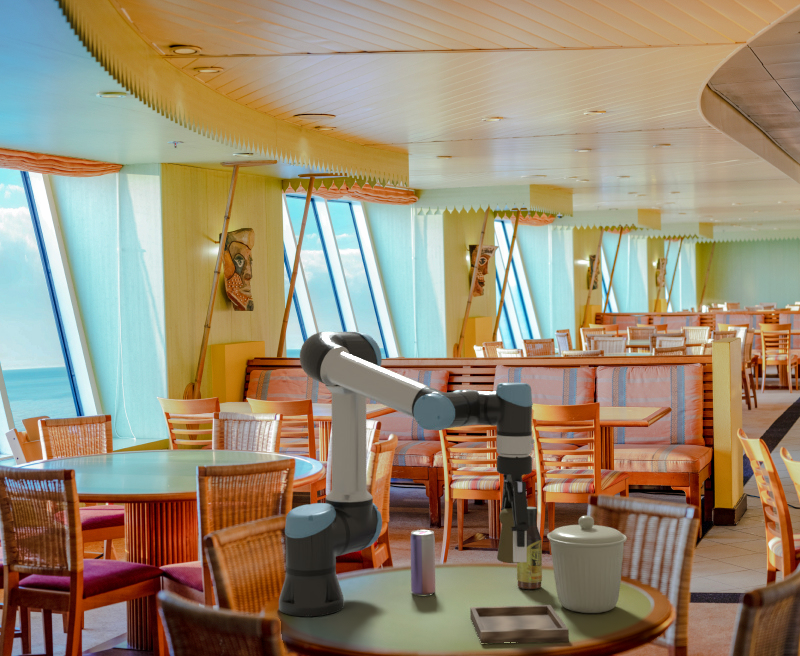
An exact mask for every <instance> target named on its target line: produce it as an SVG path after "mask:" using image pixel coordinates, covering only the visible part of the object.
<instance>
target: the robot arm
mask: <svg viewBox="0 0 800 656" xmlns="http://www.w3.org/2000/svg"><path fill="white" fill-rule="evenodd" d="M382 357H383V356H382V351H381V349H380V345H379V344H378V343H377V342H376V340H375V339H374V338H373V337H372V336H370V335H369V334H368V333H365V332H359V331H320V332H316V333H313V334H311V335H310V336H309V337H307V338H306V340H305V341H304V342H303V344H302V346H301V347H300V350H299V362H300V366H301V368H302V370H303V372H305V374H306V375H308V377H309V378H311V379H313V380H315V381H317V382H319V383H321V384H323V385H325V388H326V389H327V390H328V391H329V392H330V393H331V490H330V492H329V493H328V494H326V496H325V503H324V502H315V503H311V504H308V503H307V504H303V505H299V506H297V507H294V508H292V509H290V511H288V513H287V514H286V516H285V526H284V527H285V528H284V535H285V541H284V542H285V568H286V569H285V578H284V581H283V585H282V587H281V588H282V589H281V592H280V595H279V599H278V610H279V612H280V613H283V614H285V615H289V616H294V617H317V616H318V617H319V616H325V615H331V614H334V613H337V612H339V611H341V610H342V609H344V606H345V605H344V604H345V603H344V602H345V601H344V600H345V599H344V594H343V591H342V588H341V585H340V582H339V579H338V575H337V572H336V571H337V570H336V568H337V567H336V565H337V564H336V563H337V559H336V557H339V556H343V555H346V554H349V553H354V552H356V553H357V552H360V551H363V550H365V549H366V548H369V547H371V546H372V545H374V544H375V543H376V542H377V540H378V539H379V537H380V535H381V532H382V528H383V518H382V514H381V511H379V510H378V509H379V508H378V506H377V505H376V504H375V503H374V501H373V499H374V498H373V495H372V494H371V493H370V491H368V490H367V488H368V487H367V485H368V484H367V483H368V482H367V399H369V400H371V401H374V402H376V403H378V404H381V405H383V406H386V407H387V408H391V409H392V410H395V411H397V412H399V413H401V414H404V415H405V416H409V417H410V418H413V419H415V421H416V423H417V424H418V426H419V427H420V428H421V429H424V430H426V431H427V430H429V431H442V430H443V431H444V430H445V429H452V428H458V427H466V426H467V427H468V426H475V425H478V426H491V427H492V426H493V427H494V426H495V427H496V453H497V454H499V455H497V456H496V472H497V473H498V474H500V475H502V476H503V486H502V487H503V488H502V496H501V497H502V498H501V508H500V510H501V511H502V510H503V509H507V508H512V513H513V521H514V527H511V531H513V562H527V530H528V529H529V525H528V512H527V507H528V502H527V483H526V481H523V476H525V475H526V476H527V475H530V474H532V472H533V457H532V456H531V454H532V451H533V449H532V447H533V446H532V445H533V444H534V443H535V439H534V438H533V437H532V435H533V433H532V432H533V431H532V426H533V425H532V423H533V421H532V420H533V414H532V413H533V405H534V403H533V397H532V388H531V385H530V384H529V383H526V382H500V383H498V384H497V385H496V390H495V391H494V390H493V391H492V390H491V391H487V390H473V389H467V388H466V389H456V390H454V391H451V392H445V391H441V390H438V389H437V388H433V387H431V386H429V385H426V384H425V383H422V382H419V381H417V380H414V379H412V378H409V377H408V376H404V375H402V374H401V373H397V372H394V371H393V370H390V369H387V368H385V367H382V360H383V359H382ZM501 511H500V512H501Z"/></svg>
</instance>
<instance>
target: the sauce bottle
mask: <svg viewBox="0 0 800 656" xmlns="http://www.w3.org/2000/svg"><path fill="white" fill-rule="evenodd" d="M527 512H528V525H529V529H528V530H527V562H520V563H516V580H517V586H518V588H519V589H524V590H537V589H540V588H541V587H542V581H543V560H542V559H543V555H542V554H543V551H542V549H543V545H542V544H543V541H542V539H543V538H542V537H541V534H540V531H539V528H538V523H537V514H538V508H537V507H535V506H527Z"/></svg>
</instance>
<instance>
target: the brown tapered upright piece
mask: <svg viewBox="0 0 800 656" xmlns="http://www.w3.org/2000/svg"><path fill="white" fill-rule="evenodd" d="M498 519H499V521H500V523H501V527H500V528H501V529H500V536H499V542H498V548H497V556H496V559H497V561H499V562H501V563H505V564H517V563H520V562H513V531H511V527H514V521H513V513H512V508H507V509H503V510H502V511H500V512H499V518H498Z"/></svg>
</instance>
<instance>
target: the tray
mask: <svg viewBox="0 0 800 656" xmlns="http://www.w3.org/2000/svg"><path fill="white" fill-rule="evenodd" d="M469 612H470V620H472V621H471V623H472V622H473V623H472V625H474V626H473V628H474V627H475V628H474V630H475V632H477V633H476V635H477V634H478V635H477V637H479V638H478V639H480V640H479V642H480V641H481V643H504V642H510V643H511V642H516V643H515V644H530V643H529V642H546V643H569V641H570V640H569V639H570V638H569V637H570V635H569V634H570V633H569V632H570V631H569V628H568V627H567V625H566V624H565V623H564V621H563V620H562V618H561V617H560V616H559V615H558V613H557V612H556V611H555V609H554V608H553V606H552V605H551V604H541V605H540V604H535V605H534V604H533V605H505V606H504V605H503V606H501V605H500V606H499V605H498V606H493V605H492V606H470V611H469ZM517 642H518V643H517ZM481 643H480V644H481Z"/></svg>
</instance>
